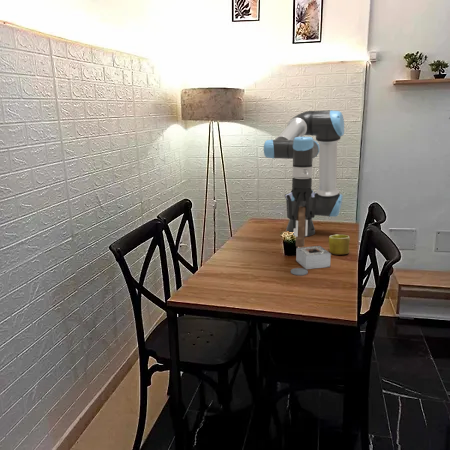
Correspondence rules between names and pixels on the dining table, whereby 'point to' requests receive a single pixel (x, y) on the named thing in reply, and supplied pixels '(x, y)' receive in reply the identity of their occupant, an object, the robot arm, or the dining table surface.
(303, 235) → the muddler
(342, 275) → the dining table surface
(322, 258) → the grey square block
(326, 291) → the dining table surface
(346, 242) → the mug
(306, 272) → the coaster
